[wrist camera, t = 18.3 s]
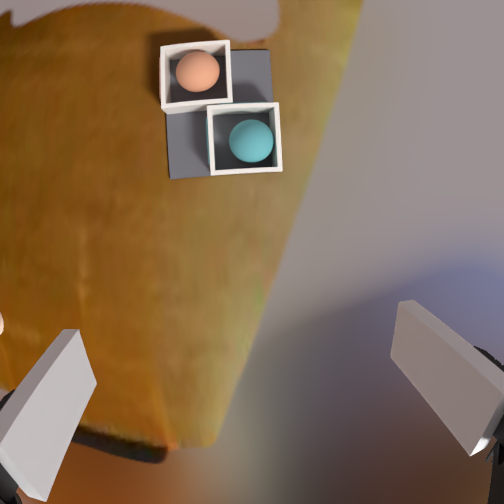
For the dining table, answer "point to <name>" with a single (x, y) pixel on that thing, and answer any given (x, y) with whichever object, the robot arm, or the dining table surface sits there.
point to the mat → (217, 116)
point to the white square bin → (245, 109)
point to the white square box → (178, 53)
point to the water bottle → (1, 323)
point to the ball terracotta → (197, 71)
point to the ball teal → (251, 141)
